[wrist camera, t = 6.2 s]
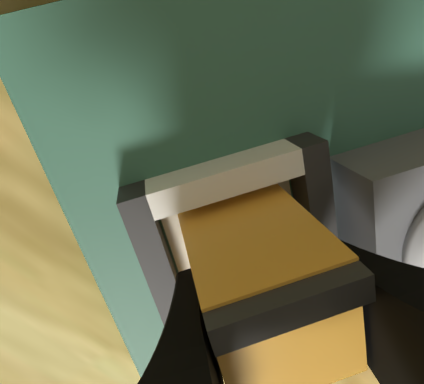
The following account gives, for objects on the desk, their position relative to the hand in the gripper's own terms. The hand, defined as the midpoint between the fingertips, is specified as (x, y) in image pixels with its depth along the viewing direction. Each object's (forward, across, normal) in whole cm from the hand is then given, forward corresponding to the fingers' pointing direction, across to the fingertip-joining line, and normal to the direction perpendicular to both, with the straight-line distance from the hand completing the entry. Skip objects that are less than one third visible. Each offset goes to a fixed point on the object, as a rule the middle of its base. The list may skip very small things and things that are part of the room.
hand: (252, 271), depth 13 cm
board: (+3, -3, -2) cm, 5 cm away
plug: (+2, 0, 0) cm, 2 cm away
